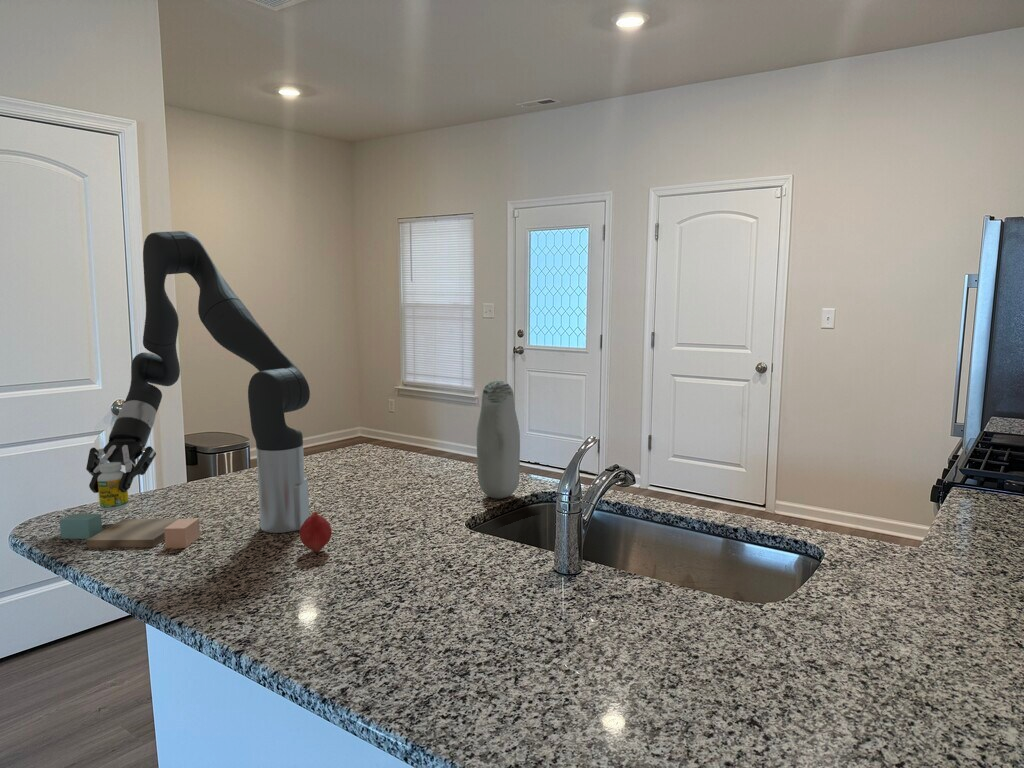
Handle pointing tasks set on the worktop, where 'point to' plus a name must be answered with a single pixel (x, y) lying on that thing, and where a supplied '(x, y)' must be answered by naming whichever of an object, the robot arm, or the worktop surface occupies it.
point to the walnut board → (131, 533)
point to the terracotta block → (181, 533)
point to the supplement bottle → (111, 487)
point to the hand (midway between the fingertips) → (108, 490)
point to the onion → (315, 532)
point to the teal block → (80, 526)
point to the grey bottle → (498, 441)
